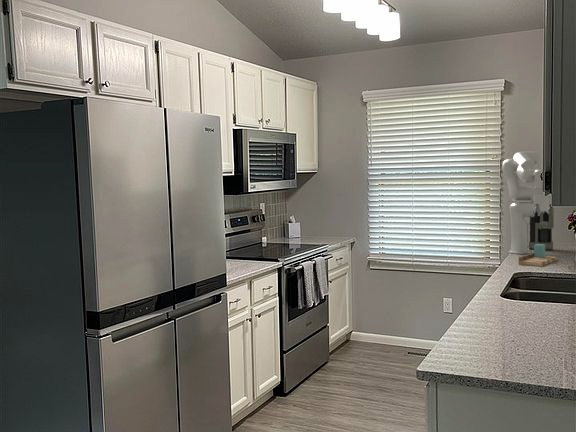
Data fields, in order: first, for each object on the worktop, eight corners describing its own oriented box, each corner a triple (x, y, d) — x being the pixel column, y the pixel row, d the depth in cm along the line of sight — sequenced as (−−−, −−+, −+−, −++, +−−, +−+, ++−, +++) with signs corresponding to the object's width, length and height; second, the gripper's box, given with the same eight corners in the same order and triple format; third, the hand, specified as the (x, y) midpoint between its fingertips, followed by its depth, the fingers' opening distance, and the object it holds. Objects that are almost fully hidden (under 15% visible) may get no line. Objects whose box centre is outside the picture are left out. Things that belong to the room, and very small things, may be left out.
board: (534, 258, 324) (534, 251, 324) (556, 260, 316) (556, 253, 315) (518, 264, 307) (518, 256, 307) (541, 266, 299) (541, 258, 298)
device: (553, 249, 358) (554, 202, 355) (552, 250, 351) (552, 203, 349) (530, 248, 365) (530, 202, 363) (528, 249, 359) (528, 203, 356)
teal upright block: (537, 256, 321) (537, 243, 320) (545, 256, 318) (545, 244, 317) (533, 257, 317) (533, 244, 317) (541, 257, 314) (541, 245, 313)
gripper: (542, 190, 319) (542, 220, 321) (527, 192, 308) (527, 223, 310) (555, 191, 313) (555, 221, 315) (540, 192, 303) (540, 223, 304)
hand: (541, 222), depth 312 cm, fingers open, 9 cm apart
